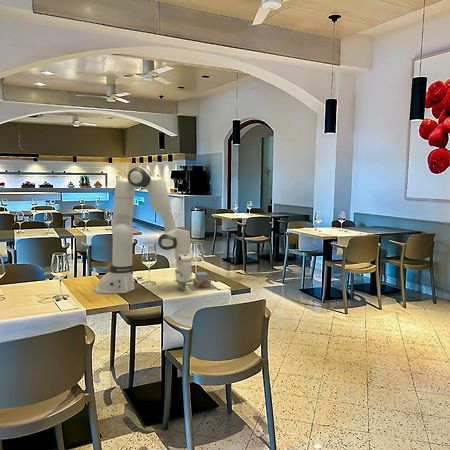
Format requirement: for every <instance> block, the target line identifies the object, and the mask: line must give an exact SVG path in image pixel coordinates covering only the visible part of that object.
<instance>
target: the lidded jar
mask: <svg viewBox="0 0 450 450" xmlns="http://www.w3.org/2000/svg"><path fill="white" fill-rule="evenodd" d="M174 274H175V275H174V276H175V279H176V281H177V282H186V283H189V282H190V281H191V280H192V277H193V269H192V268H191V274H190V275H188V278H187V281H184V274H183V277H180V274H179V270H178V269H177V268H176V269H174Z"/></svg>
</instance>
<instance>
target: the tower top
mask: <svg viewBox="0 0 450 450" xmlns="http://www.w3.org/2000/svg"><path fill="white" fill-rule="evenodd" d="M194 279H196V280H197V281H198V282H199V281H208V280H209V274H208V272H206V271H200V272H198V271H197V272H195V278H194Z"/></svg>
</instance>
